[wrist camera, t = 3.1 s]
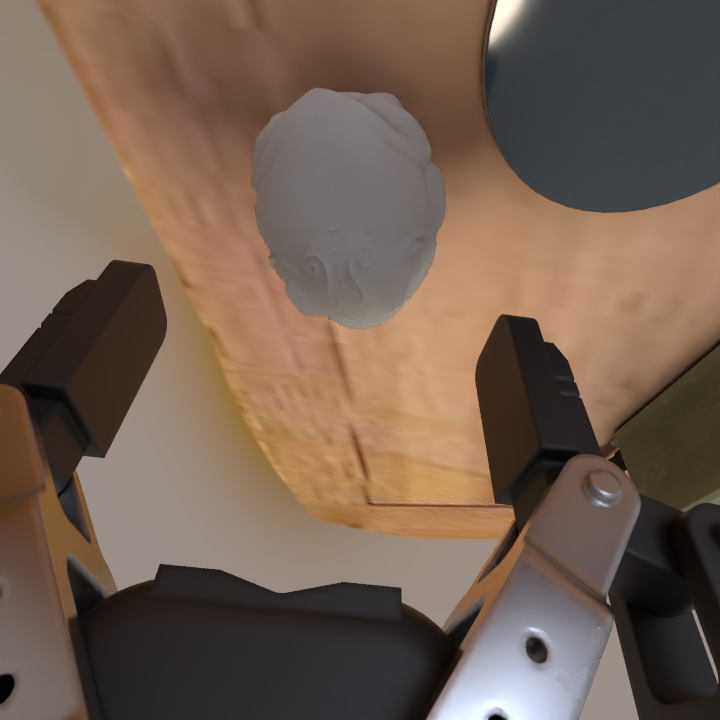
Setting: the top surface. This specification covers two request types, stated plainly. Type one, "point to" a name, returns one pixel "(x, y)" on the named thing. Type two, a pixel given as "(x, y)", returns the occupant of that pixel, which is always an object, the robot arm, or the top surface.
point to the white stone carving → (348, 204)
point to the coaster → (606, 98)
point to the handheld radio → (677, 440)
